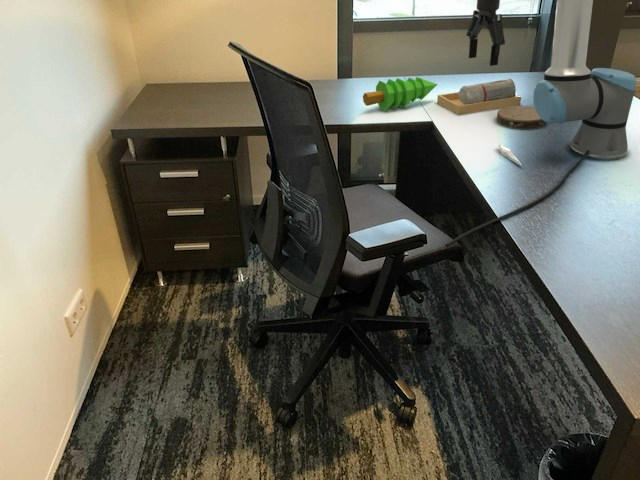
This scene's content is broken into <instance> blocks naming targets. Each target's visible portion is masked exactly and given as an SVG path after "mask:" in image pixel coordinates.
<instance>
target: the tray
mask: <svg viewBox="0 0 640 480" xmlns="http://www.w3.org/2000/svg"><path fill="white" fill-rule="evenodd" d="M459 92H460V91H456V92H450V93H442V94H437V100H436V101H437V104H438V105H439V106H442V108H445V109H447V110H449V111H451V112H452V113H454V114H456V115H458V116H461V115H467V114H472V113H479V112H487V111H491V110H499V109H501V108H503V107H507V106H521V103H522V96H521V95H519V94H517V93H515V97H511V98H505V99H499V100H492V101H486V102H480V103H474V104H467V105H463V103H462V102H461V101H460V100H459V98H458V93H459Z"/></svg>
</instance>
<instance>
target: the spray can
mask: <svg viewBox="0 0 640 480" xmlns="http://www.w3.org/2000/svg"><path fill="white" fill-rule="evenodd" d="M516 91H517V89H516V84H515V82H514V80H513V79H512V78H507V79H502V80H494V81H486V82H482V83H481V82H480V83H476V84H470V85H463V86H462V87H461V88H459V91H458V92H459V93H458V98H459V100H460V101H461V102H462V103H463V105H467V104H474V103H480V102H486V101H492V100H499V99H505V98H511V97H515V94H516Z"/></svg>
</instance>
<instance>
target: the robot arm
mask: <svg viewBox="0 0 640 480" xmlns="http://www.w3.org/2000/svg"><path fill="white" fill-rule="evenodd" d="M593 3H594V0H556V5H555V6H556V9H555V18H554V28H553V29H554V30H553V40H552V51H551V61H550V67H548V68H547V70H545V71H544V73H543V74H544V75H543V80H540V81H539V82H538V83H537V84H536V85H535V87H534V88H533V89H534V91H533V95H532V96H533V99H532V100H533V107H535V109H536V112H537V113H538V116H539V117H540V118H541V119H542V120H543V121H545V122H546V124H547V123H548V124H563V123H567V122H576V121H580V125H579V126H578V128H577V130H576V132H575V133H574V135H573V136H572V139H571V140H570V143H569V150H570V152H572V153H574V154H575V155H577V156H580V158H579V159H578V160H577V162H576V163H575V164H574V165H572V166H571V167H570V168H569V169H568V170H567V171H566V173H565V174H564V176H563V177H562V179H560V181H559V182H558V183H557V184H556V185H555V186H554V187H553V188H551V189H550V190H549V191H548V192H546V193H545V194H543V195H541V196H540V197H538V198H537V199H535V200H533V201H531V202H529V203H527V204H526V205H523V206H522V207H519V208H517V209H515V210H513V211H511V212H510V211H509V212H508V213H506V214H503V215H501V216H499V217H496V218H494V219H492V220H489V221H487V222H485V223H483V224H480V225H478V226H476V227H474V228H472V229H470V230H468V231H465V232H464V233H462V234H461V235H459V236H457V237H456V238H454V239H452V240H451V241H449V242H447V243H445V245H444V246H445V247H446V248H449V247H450V246H452V245H454V244H456V243H457V242H458V241H460V240H462V239H464V238H466V237H467V236H470V235H471V234H473V233H475V232H477V231H480V230H482V229H484V228H486V227H488V226H490V225H493V224H495V223H497V222H499V221H502V220H504V219H507V218H508V217H511V216H513V215H516V214H517V213H519V212H522V211H524V210H526V209H528V208H531V207H532V206H534V205H535V204H537V203H539V202H541V201H543V200H544V199H546V198H547V197H549V196H550V195H551V194H553V193H554V192H555V191H556V190H557V189H558V188H559V187H560V186H561V185H562V184H563V183H564V182H565V180H566V179H567V178H568V176H569V175H570V174H571V172H573V170H575V169H576V168H577V167H578V166H579V165H580V164H581V163H582V162H583V160H585V158H586V159H591V160H598V161H613V160H619V159H621V158H624V157H625V156H626V155H627V154H628V153H627V152H628V148H629V145H628V136H627V123H628V119H629V115H630V111H631V108H632V103H633V100H634V96H635V93H636V86H637V78H636V76H635V75H634V74H632V73H630V72H628V71H624V70H621V69H616V68H615V69H614V68H608V67H607V68H606V67H596V68H593V69H591V70H590V69H589V68H588V66H587V65H586V64H587V58H588V57H587V56H588V48H589V47H588V46H589V39H590V29H591V21H592V12H593V5H594V4H593ZM500 5H501V0H476V9H474V10H473V11H472V17H471V20H470V23H469V26H468V28H467V31H466V34H465V35H466V37H468V39H469V45H468V46H469V47H468V49H469V50H468V59H474V58H477V52H478V42H479V39H478V38H479V37H478V36H479V34H480V33H481V31H482V29H483V28H484V27H485V28H486V29H487V30H488V33H489V36H490V39H491V43H492V45H491V48H490V58H489V66H490V67H492V66H493V67H494V66H498V64H499V56H500V51H501V46H503V45H505V44H506V40H505V34H504V27H503V15H502V13H501V14H497V11H498V10H499V9H500Z"/></svg>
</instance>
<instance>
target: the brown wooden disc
mask: <svg viewBox="0 0 640 480" xmlns="http://www.w3.org/2000/svg"><path fill="white" fill-rule="evenodd" d="M496 122H497V124H499V125H501V126H503V127H505V128H508V129H509V128H510V129H514V130H535V129H536V130H537V129H540V128H542V127H545V125H546V124H547V122H545V121H543V120H542V119H541V118H540V117H539V116H538V113H537V112H536V109H535V106H531V105H517V106H507V107H503V108H498V109H497V113H496Z"/></svg>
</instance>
